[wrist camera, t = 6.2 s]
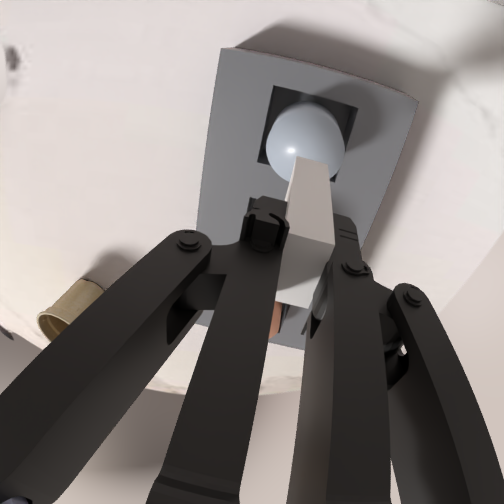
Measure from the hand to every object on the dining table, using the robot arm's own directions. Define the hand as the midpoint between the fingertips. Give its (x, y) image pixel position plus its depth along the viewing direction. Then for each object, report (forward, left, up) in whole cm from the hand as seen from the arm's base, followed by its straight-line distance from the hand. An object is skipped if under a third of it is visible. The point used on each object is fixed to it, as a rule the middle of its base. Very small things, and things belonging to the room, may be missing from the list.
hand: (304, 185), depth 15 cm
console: (+9, 0, -12) cm, 15 cm away
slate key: (0, 0, -9) cm, 9 cm away
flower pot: (+29, -23, -13) cm, 39 cm away
